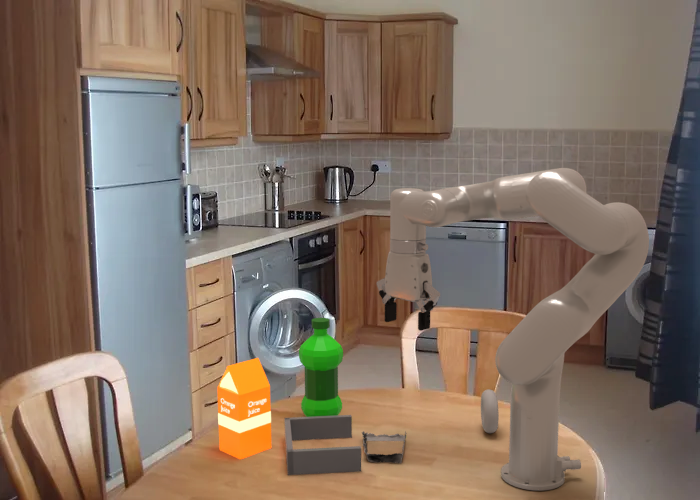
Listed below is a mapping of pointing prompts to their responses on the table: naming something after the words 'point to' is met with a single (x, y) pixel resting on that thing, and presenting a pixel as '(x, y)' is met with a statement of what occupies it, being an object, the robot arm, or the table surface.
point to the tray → (320, 457)
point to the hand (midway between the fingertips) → (406, 325)
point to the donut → (489, 411)
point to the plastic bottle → (321, 371)
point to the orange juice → (244, 410)
